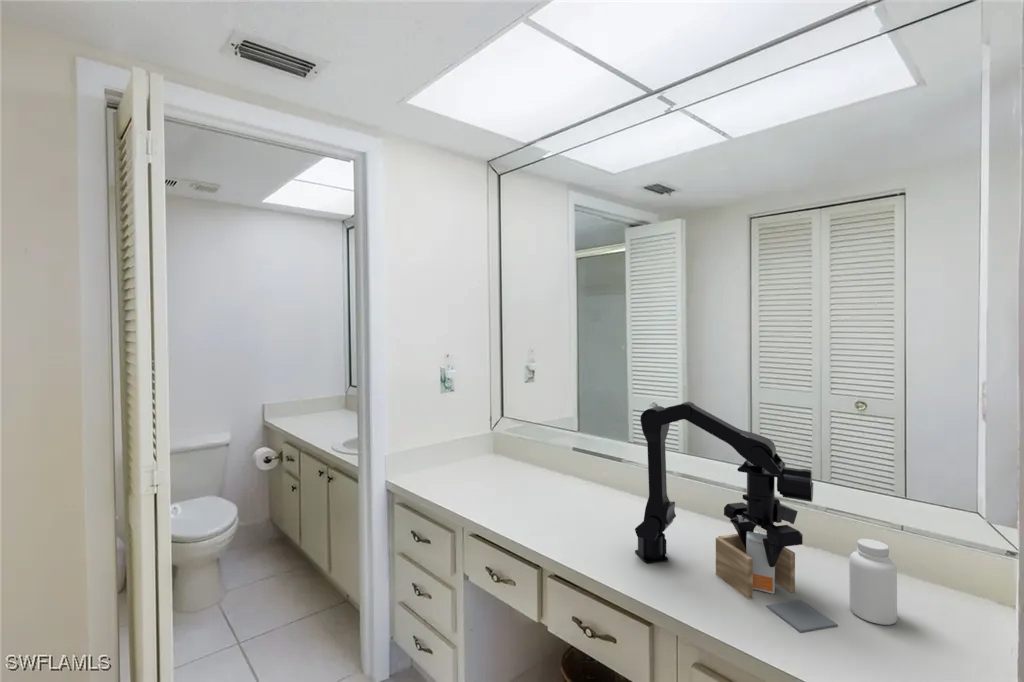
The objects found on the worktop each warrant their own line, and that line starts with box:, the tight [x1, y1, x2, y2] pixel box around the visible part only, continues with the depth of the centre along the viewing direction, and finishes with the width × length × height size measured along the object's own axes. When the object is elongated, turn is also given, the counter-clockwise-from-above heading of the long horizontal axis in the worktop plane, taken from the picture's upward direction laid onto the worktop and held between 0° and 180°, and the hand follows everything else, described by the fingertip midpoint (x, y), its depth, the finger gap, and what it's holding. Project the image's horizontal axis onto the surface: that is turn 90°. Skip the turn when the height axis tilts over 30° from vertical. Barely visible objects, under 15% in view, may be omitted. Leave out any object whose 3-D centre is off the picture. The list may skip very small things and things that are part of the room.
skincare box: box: [746, 531, 776, 595], centre depth 110 cm, size 6×4×12 cm
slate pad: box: [765, 599, 838, 633], centre depth 99 cm, size 9×9×1 cm
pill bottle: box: [848, 538, 898, 626], centre depth 99 cm, size 8×8×15 cm
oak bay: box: [715, 533, 796, 600], centre depth 112 cm, size 12×12×9 cm
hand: (760, 559), depth 110 cm, fingers closed on skincare box, 7 cm apart
